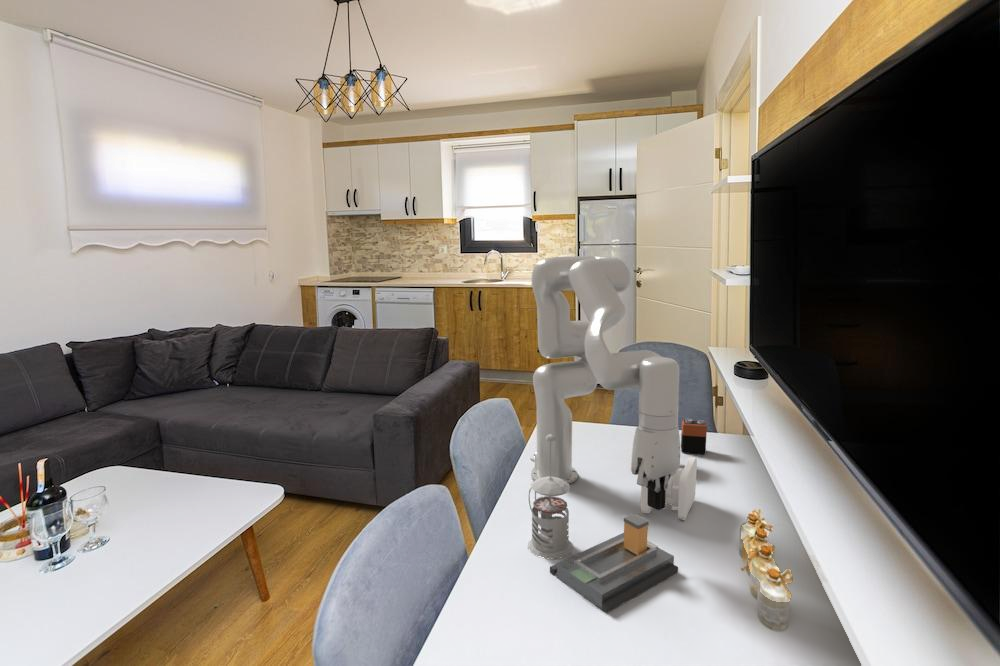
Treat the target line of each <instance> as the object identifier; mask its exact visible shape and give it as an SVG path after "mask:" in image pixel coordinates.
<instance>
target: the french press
mask: <svg viewBox="0 0 1000 666" xmlns="http://www.w3.org/2000/svg"><path fill="white" fill-rule="evenodd" d="M546 441H549V442H550V476H547V477H542V478H539V479H537V480H533V482H532V483H530V488H529V491H528V504H529V509H530V512H531V517H532V518H531V538H530V539H531V540H529V541H528V542H527V543H528V545H527V549H528V550H529V549H530V551H531V552H532V553H534V554H535V555H534V554H533V555H534V556H536V555H537V556H536V557H538V556H541V557H544V558H543V559H546V558H549V559H548V560H552V559H551V558H557V559H561V558H560V557H562V558H565V557H567V556H569V555H570V554H571V553H572V551H573V550H574V546H573V545H574V544H573V543H572V542H571V540H570V539H569V537H570V536H569V529H570V528H569V527H570V526H569V521H570V518H569V516H570V513H569V512H570V511H569V508H568V503H567V501H566V500H564V499H563V498H561V497H559V496H562V495H565V494H567V493H568V491H570V490H571V489H570V488H571V487H570V486H571V485H570V484H568V483H567V482H566V481H564V480H562V479H560V478H558V477H551V442H552V441H555V437H554V435H552V434H549V435H547V437H546ZM531 490H533V491H534V501H533V503H532V504H533V507H532V506H531V499H530V498H531V496H530V494H531ZM537 494H539V495H541V497H538V498H537ZM563 511H564V512H565V513H564V512H563ZM539 514H540V517H539ZM556 514H557V515H556ZM553 515H555V516H553ZM558 515H562V516H558ZM539 532H540V533H539ZM530 551H529V552H530ZM531 552H530V553H531ZM532 553H531V554H532ZM566 555H567V556H566ZM541 557H540V558H541Z"/></svg>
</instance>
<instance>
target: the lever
mask: <svg viewBox="0 0 1000 666" xmlns="http://www.w3.org/2000/svg"><path fill="white" fill-rule="evenodd" d="M623 522H624V524H623V533H624V548H626V549H627V550H629V551H631V552H633V553H634V554H636V555H639V554H641V553H643V552H645V551H647V540H648V532H649V530H648V529H649V527H648V526H649V520H648V519H645V518H644V517H642V516H640V515H638V514H636V513H631V514H629V515H627V516H625V517H623Z"/></svg>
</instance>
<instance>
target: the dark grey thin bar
mask: <svg viewBox="0 0 1000 666" xmlns="http://www.w3.org/2000/svg"><path fill="white" fill-rule="evenodd" d="M678 573H679V566H677V565H676V564H674V565H672V566H670V567H668V568H666V569H664V570H663V571H661V572H659V573H657V574H655V575H654V576H652V577H650V578H648V579H646V580H644V581H643V582H641V583H639V584H637V585H635V586H633V587H632V588H630V589H628V590H626V591H624V592H623V593H621V594H619V595H617V596H615V597H613V598H612V599H610V600H608V601H606V602H604V603H602V610H601V611H603V612H604V613H606V614H607V613H610V612H612V611H613V610H615V609H617V608H618V607H620V606H622V605H623V604H625V603H627V602H628V601H630V600H632V599H634V598H636V597H637V596H639V595H640V594H643V593H645V592H646V591H648V590H650V589H652V588H654V587H655V586H657V585H658V583H659V584H661V583H662V582H664V581H666V580H667V579H669V578H671V577H672V576H674V575H676V574H678ZM660 582H661V583H660Z"/></svg>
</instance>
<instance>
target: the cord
mask: <svg viewBox="0 0 1000 666" xmlns="http://www.w3.org/2000/svg"><path fill="white" fill-rule="evenodd" d="M549 573H550V574H552V575H553V576H555V575H557V563H555V564H552V565H551V566H549Z"/></svg>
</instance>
